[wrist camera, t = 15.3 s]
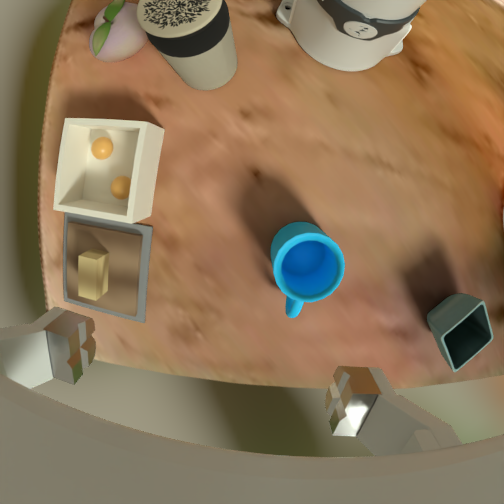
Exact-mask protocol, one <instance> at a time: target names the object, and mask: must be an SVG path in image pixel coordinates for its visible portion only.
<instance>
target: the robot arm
mask: <svg viewBox="0 0 504 504" xmlns="http://www.w3.org/2000/svg"><path fill="white" fill-rule="evenodd" d="M425 1H426V0H282V2H281V4H280V6H279V8H278V10H277V12H276V17H277V19H278V20H279V21H280V22H281V23H283V24H284V25H285V26H286V27H288V28H289V29H290V30H291V31H292V33H293V35H294V36H295V38H296V40H297V42H298V43H299V45H300V46H301V47H302V48H303V49H304V51H305V52H306V53H308V54H309V55H310V56H311V57H312V58H314V59H315V60H317V61H318V62H320V63H322V64H324V65H326V66H329V67H331V68H334V69H338V70H343V71H361V70H365V69H368V68H371V67H373V66H374V65H376V64H377V63H378V62H380V61H381V60H382V59H383V58H384V57H386V56H390V55H395V54H398V53H400V52H401V50H402V49H403V42H402V40H403V38H404V37H405V36H406V35H407V34H408V33H409V31H410V30H411V27H412V26H411V25H410V22H411V21H412V20H413V19H414V17H415V16H416V15H417V13H418V11H419V9H420V6H421V5H422V4H423V3H424V2H425ZM287 7H288V8H290V10H287V9H285V8H287ZM94 331H95V325H94V321H93V319H92V318H90V317H86V316H83V315H80V314H77V313H74V312H71V311H68V310H66V309H62V308H59V307H53V308H52V309H51V310H49V311H48V312H47V313H45V314H44V315H43V316H41V317H40V318H39V319H38V320H36V321H35V322H33V323H32V324H31V325H30V324H21V325H16V326H10V327H5V328H0V504H504V434H503V435H499V436H495V437H492V438H488V439H484V440H480V441H476V442H471V443H467V444H462V442H461V441H460V439H459V438H458V436H457V435H456V433H455V432H454V430H453V428H452V427H451V425H448V424H447V423H445V422H444V421H442V420H440V419H439V418H437V417H435V416H434V415H432V414H430V413H429V412H427V411H426V410H424V409H422V408H421V407H419V406H417V405H416V404H414V403H412V402H411V401H409V400H408V399H406V398H404V397H403V396H401V395H396V393H395V391H394V390H393V388H392V386H391V385H390V383H389V381H388V379H387V378H386V376H385V374H384V373H383V371H382V369H380V368H373V367H349V366H338V367H337V369H336V370H335V373H334V375H333V377H334V380H335V382H334V383H333V384H332V385H330V386H329V388H328V391H327V393H326V399H325V408H326V412H327V413H328V414H329V415H330V416H331V418H330V420H329V423H330V427H331V431H332V435H336V436H357V438H358V439H359V440H360V441H361V442H362V443H363V444H364V445H365V446H366V447H367V448H368V449H369V450H370V451H371V452H372V453H373V454H374V455H375V456H369V457H338V458H337V457H336V458H335V457H334V458H333V457H297V456H282V455H281V456H280V455H269V454H259V453H250V452H242V451H235V450H228V449H222V448H215V447H209V446H204V445H198V444H194V443H188V442H184V441H179V440H175V439H171V438H166V437H162V436H158V435H154V434H151V433H146V432H143V431H139V430H136V429H133V428H129V427H126V426H123V425H120V424H117V423H113V422H110V421H107V420H105V419H101V418H98V417H96V416H93V415H90V414H88V413H85V412H82V411H80V410H77V409H75V408H72V407H70V406H67V405H65V404H62V403H60V402H58V401H55V400H53V399H51V398H49V397H46V396H44V395H42V394H40V393H37V392H35V391H33V390H31V388H33V387H35V386H37V385H40V384H42V383H44V382H47V381H49V380H51V379H53V377H54V378H56V379H59V380H62V381H65V382H67V383H70V384H73V385H75V384H76V382H77V381H78V380H79V379H80V377H81V376H82V375H83V368H86V367H89V366H90V364H91V363H92V362H93V359H94V356H95V351H96V342H95V340H94V338H93V337H92V333H93V332H94Z"/></svg>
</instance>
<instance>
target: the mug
mask: <svg viewBox="0 0 504 504" xmlns="http://www.w3.org/2000/svg"><path fill="white" fill-rule="evenodd" d="M270 255H271V261H272V267H273V273H274V277H275V280H276V283H277V285H278V286H279V288H280V289H281V291H282V292H283V293H284V294H286V295H287V298H286V314H287V316H288V317H289V318H294V317H296V316H297V315H298V314H299V312H300V311H301V308H302V306H303V303H304V302H314V301H318V300H321V299H323V298H325V297H327V296H328V295H330V294H331V293H332V292H333V291H334V290H335V289H336V288H337V287H338V286H339V284H340V282H341V280H342V277H343V275H344V268H345V263H344V257H343V253H342V252H341V250H340V248H339V246H338V245H337V244H336V243H335V242H334V241H333V240H332V239H331V238H330V237H329V236H327V235H326V234H325V233H324V232H323V231H322V230H321V229H319V228H318V227H317V226H316V225H313V224H311V223H308V222H294V223H290V224H288V225H286V226H285V227H283V228H281V229H280V230H279V232H278V233H277V234H276V235H275V236H274V239H273V241H272V244H271V254H270Z"/></svg>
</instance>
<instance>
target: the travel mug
mask: <svg viewBox="0 0 504 504" xmlns="http://www.w3.org/2000/svg"><path fill="white" fill-rule="evenodd" d="M137 19H138V22H139V24H140V26H141V27H142V28H143V29H144V30H145V31H146V35H147V37H148V39H149V40H150V42H151V43H152V44H153V45H154V46H155V47H156V49H157V50H158V51H159V52H160V53H161V54H162V56H163V57H164V58H165V59H166V60H167V61H168V63H169V64H170V65H171V66H172V67H173V69H174V70H175V71H176V72H177V73H178V75H179V76H180V77H181V78H182V79H183V81H184V82H185V83H186V84H187V85H189V86H190V87H192V88H195V89H198V90H213V89H216V88H219V87H221V86H223V85H224V84H226V83H227V82H228V81H229V80H230V79H231V78H232V77H233V75H234V74H235V72H236V69H237V55H236V50H235V44H234V39H233V33H232V28H231V22H230V17H229V12H228V7H227V4H226V2H225V0H140V1H139V3H138V6H137Z"/></svg>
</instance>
